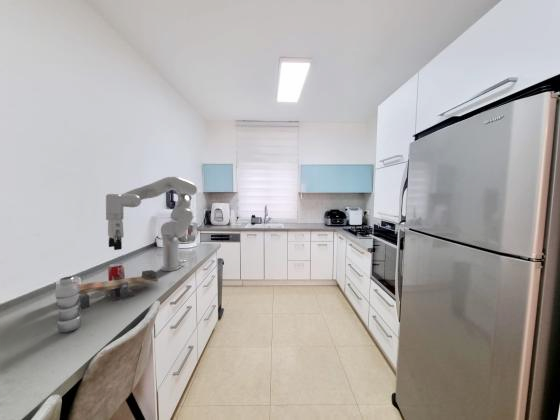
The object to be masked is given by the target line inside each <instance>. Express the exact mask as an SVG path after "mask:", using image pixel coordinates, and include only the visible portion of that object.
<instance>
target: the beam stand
mask: <svg viewBox="0 0 560 420" xmlns="http://www.w3.org/2000/svg"><path fill="white" fill-rule="evenodd" d="M120 279H121V277H117V278H113V280H120ZM106 291H107V295H108V296H109V297H110V298H111V299H112V300H113V302H115V303H117V302H120V301H123V300H126V299H129V298H133V297H135V296H136V292H134V291H133V290H132V289H131V288H129V286H128V282H125V283H121V284H120V288H114V289H108V290H106ZM78 304H79V310H83V309H86V308H90V307H91V305H90V295H89V293H85V294H80V295H79V303H78Z"/></svg>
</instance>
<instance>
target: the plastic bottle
mask: <svg viewBox="0 0 560 420" xmlns="http://www.w3.org/2000/svg"><path fill="white" fill-rule="evenodd" d="M74 277H75V276H71V275H69V276H65V277H61V278H60V279H59V280H60V285H61V286H60V287H59V289H58V290H57V292H56V291H55V296H54V297H55V300H56V303H57V309H58V320H57V323H56V325H57V326H56V328H57V330H58V332H59V333H60V334H61V333H63V334H64V333H66V334H67V333H69V332H73V331H75V330H77V329H78V328H79V327H80V326H81V325H82V321H83V319H82V316H81V313H80V307H79V304H78V303H79V293H80V289H79V287H78V286H77V285H75V284H74V283H73V282H74Z"/></svg>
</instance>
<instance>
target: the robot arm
mask: <svg viewBox="0 0 560 420" xmlns="http://www.w3.org/2000/svg"><path fill="white" fill-rule="evenodd" d="M170 191H176V192H175V193H176V195H177V202H176V203H175V205H174V207H173V209H172V211H171V213H170V215H169V217H170V219H171V220H172V221H166V222H164V223H163V224H162V225H161V227H160V234H161V238H162V256H163V257H162V258H163V259H162V263H163V264H162V266H161V267H160V270H161V271H162V270H163V272H172V271H177V270H180V269H181V268H182V266H183V265H182V264H184V263H186V262H187V260H186V259H180V255H179V254H180V250H179V247H180V246H179V245H180V243H179V238H182V237H184V235H186V233H187V230H188V229H189V227H190V224H191V223H192V220H193V218H194V216H193V211H192V210H191V209H189V208H190V206H191V198H190V196H194V195H196V193H197V192H198V188H197V186H196V184H195V183H193V182H191V181H189V180H186V179H183V178H181V177H179V176H166V177H164V178H161V179H159V180H156V181H153V182H151V183H149V184H146V185H143V186H140V187H137V188H134V189H131V190H128V191H125V192H124V193H108V194H106V195H105V220H107V236H108V247H109V248H113V250H114V251H119V250H122V248H123V247H122V246H123V245H122V243H123V240H122V238H124V234H125V233H124V222H123V220H124V208H137V207H139V206H140V205H141V204H142V200H143V201H144V200H145V199H146V200H147V199H153V198H157V197H160V196H161V195H163V194H165V193H168V192H170ZM179 268H180V269H179Z"/></svg>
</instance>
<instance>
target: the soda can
mask: <svg viewBox="0 0 560 420" xmlns="http://www.w3.org/2000/svg"><path fill="white" fill-rule="evenodd" d="M107 274H108V276H107V277H108V279H107V281H113V278H117V277H121V279H126V277H125V266H124V265H123V263H122V262H115V263H111V264H109V267H108V268H107Z"/></svg>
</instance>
